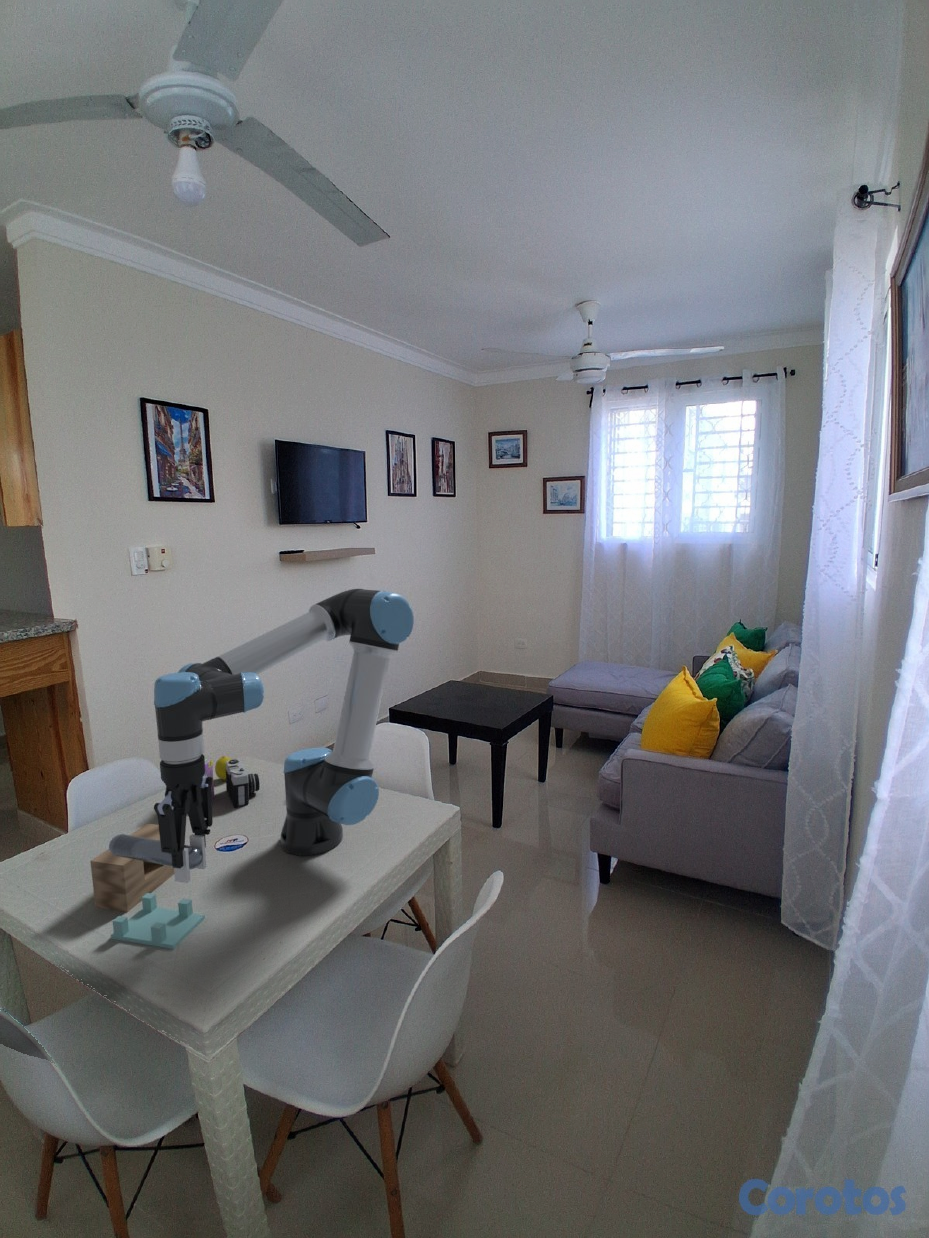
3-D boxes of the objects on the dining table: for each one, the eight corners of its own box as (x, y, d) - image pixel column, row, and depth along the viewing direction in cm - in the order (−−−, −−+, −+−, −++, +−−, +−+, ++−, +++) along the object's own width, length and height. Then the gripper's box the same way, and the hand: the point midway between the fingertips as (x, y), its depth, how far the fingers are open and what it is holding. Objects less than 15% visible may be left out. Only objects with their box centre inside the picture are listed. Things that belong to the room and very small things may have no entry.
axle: (207, 865, 114) (208, 844, 114) (193, 874, 111) (194, 853, 110) (119, 849, 119) (120, 829, 119) (103, 857, 115) (104, 837, 115)
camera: (261, 804, 170) (259, 771, 169) (227, 810, 167) (225, 776, 165) (258, 785, 183) (256, 754, 181) (226, 790, 180) (224, 759, 178)
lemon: (223, 785, 183) (221, 760, 182) (212, 781, 186) (210, 757, 185) (238, 779, 188) (237, 754, 186) (227, 775, 190) (225, 751, 189)
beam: (180, 869, 138) (177, 827, 136) (127, 912, 123) (123, 865, 121) (151, 865, 140) (147, 823, 138) (95, 907, 124) (90, 860, 123)
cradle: (205, 919, 120) (203, 901, 120) (174, 950, 112) (172, 930, 111) (145, 910, 123) (144, 892, 123) (111, 939, 115) (109, 920, 114)
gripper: (194, 739, 119) (202, 848, 123) (129, 773, 103) (140, 897, 106) (228, 742, 117) (235, 852, 121) (167, 777, 101) (177, 903, 104)
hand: (191, 873), depth 113 cm, fingers closed on axle, 4 cm apart
